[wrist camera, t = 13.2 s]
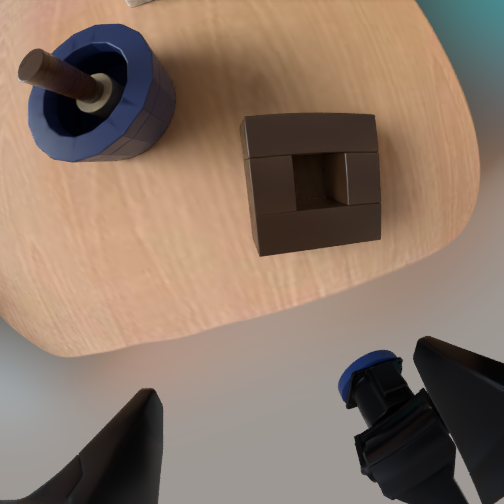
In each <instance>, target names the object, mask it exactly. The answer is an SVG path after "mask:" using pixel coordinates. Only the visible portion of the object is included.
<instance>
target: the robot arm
mask: <svg viewBox="0 0 504 504" xmlns="http://www.w3.org/2000/svg"><path fill="white" fill-rule="evenodd" d="M413 360H414V363H415V365H416V367H417V370H418V372H419V374H420V376H421V378H422V381H423V383H424V385H425V387H426V390H427V391H426V390H425V389H424V388H422V389H421V390H420V392H419V393H417V394H416V395H414V394H413V393H412V391H411V390H410V388H409V387H408V384H407V382H406V381H405V380H404V378H403V377H402V376H401V374H400V373H399V372H400V369H401V365H402V362H403V360H402V359H401V357H397V358H395V359H392V360H389V361H386V362H383V363H380V364H377V365H373V366H370V367H367V368H364V369H360V370H357V371H354V372H353V373H352V374H351V379H350V385H349V390H348V396H347V401H346V408H347V409H351V408H355V407H358V408H359V410H360V412H361V414H362V416H363V418H364V420H365V422H366V424H367V426H368V428H369V429H367V430H366V431H364V432H363V433H361V434H358V435H356V436H354V439H355V442H356V443H355V446H356V450H357V454H358V457H359V461H360V465H361V473H362V474H363V475H367V476H368V477H369V479H370V480H371V481H373V482H375V483H376V482H377V483H378V484H379V486H380V488H381V490H382V493H383V494H384V496H386V497H388V498H389V499H391V500H394V499H398V500H400V501H403V502H405V503H408V504H469V503H468V501H467V499H466V497H465V496H464V494H463V492H462V490H461V489H460V487H459V485H458V483H457V482H456V480H455V478H454V469H455V457H456V446H457V448H458V450H459V452H460V454H461V456H462V458H463V460H464V462H465V465H466V467H467V469H468V471H469V472H470V473H469V474H470V476H471V478H472V481H473V483H474V485H475V487H476V490H477V492H478V495H479V497H480V500H481V502H482V504H494V503H496V502H497V501H498V500H499V499H501V498H503V497H504V363H501V362H498V361H495V360H493V359H490V358H488V357H485V356H482V355H479V354H476V353H474V352H471V351H468V350H465V349H462V348H460V347H457V346H454V345H452V344H449V343H447V342H444V341H441V340H439V339H436V338H433V337H431V336H425V337H423V338H420V339H419V340H418V341H417V345H416V348H415V352H414V355H413ZM427 392H428V393H427ZM449 433H450V434H451V436H452V438H453V440H454V442H455V444H456V446H455V444H454V442H453V441H452V439H451V437H450V436H449ZM162 454H163V406H162V403H161V401H160V399H159V397H158V395H157V393H156V391H155V390H154V389H153V388H142V389H141V390H139V391H138V393H136V395H135V396H134V397H133V398H132V399H131V400H130V401H129V402H128V403H127V404H126V405H125V406H124V407H123V408H122V409H121V410H120V412H118V413H117V414H116V415H115V416H114V418H113V419H112V420H111V421H110V422H109V423H108V424H107V425H106V426H105V427H104V428H103V429H102V430H101V431H100V432H99V433H98V434H97V435H96V436H95V437H94V438H93V439H92V440H91V441H90V442H89V443H88V444H87V445H86V447H84V448H83V449H82V451H81V452H80V453H79V455H76V457H75V458H74V459H73V460H72V461H71V462H70V463H69V464H67V465H66V466H65V467H64V468H63V469H62V470H61V471H60V472H59V473H57V474H56V475H55V476H54V477H53V478H51V479H50V480H49V481H48V482H46V483H45V484H44V485H42V486H41V487H40V488H38V489H37V490H36V491H34V492H33V493H32V494H30V495H29V496H27V497H25V498H22V499H17V500H0V504H158V496H159V483H160V473H161V464H162Z"/></svg>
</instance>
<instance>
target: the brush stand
mask: <svg viewBox="0 0 504 504" xmlns="http://www.w3.org/2000/svg"><path fill="white" fill-rule="evenodd" d="M240 133H241V142H242V150H243V158H244V167H245V176H246V184H247V193H248V201H249V210H250V218H251V227H252V235H253V240H254V243H255V245H256V248H257V251H258V254H259V256H260V257H262V256H269V255H276V254H283V253H290V252H297V251H304V250H311V249H318V248H325V247H332V246H339V245H346V244H353V243H360V242H367V241H374V240H380V239H381V203H380V202H381V188H380V167H379V153H378V140H377V131H376V122H375V115H371V114H354V113H285V114H268V115H255V116H245V117H244V118H243V120H242V123H241V125H240ZM308 154H323V166H324V178H325V192H326V197H325V198H314V199H304V200H296V194H295V183H294V172H293V162H292V155H308Z"/></svg>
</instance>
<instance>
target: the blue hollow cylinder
mask: <svg viewBox="0 0 504 504" xmlns="http://www.w3.org/2000/svg"><path fill="white" fill-rule="evenodd" d="M52 55H54V56H55V57H57V58H59V59H61V60H63V61H65V62H67V63H68V64H70V65H72V66H74V67H76V68H77V69H79V70H81V71H83V72H85V73H86V74H88V75H90V76H91V75H93V74H97V73H103V74H106V75H108V76H109V77H111V78H112V79H113V80H115V81H116V82H118V83H119V84H121V85H122V86H123V87H125V90H124V93H123V96H122V99H121V101H120V102H119V104H118V105H117V106H116V108H115V109H114V111H113V112H112V113H111V115H110V116H109V118H108V119H105V118H101V117H98V116H95V115H92V114H89V113H85V112H83V111H81V110H80V109H79V107H78V105H77V102H76V99H73V98H70V97H67V96H65V95H62V94H59V93H56V92H53V91H50V90H47V89H43V88H40V87H37V86H34V85H33V88H32V91H31V94H30V97H29V101H28V125H29V128H30V131H31V133H32V136H33V138H34V141H35V143H36V145H37V146H38V147H39V148H40V149H41V150H42V151H44V152H45V153H46V154H47V155H48V156H49V157H51V158H53V159H55V160H61V161H67V162H95V161H118V160H124V159H129V158H132V157H135V156H137V155H139V154H141V153H143V152H145V151H146V150H148V149H149V148H150V147H152V146H153V145H154V144H155V143H156V142H157V141H158V140H159V139H160V138H161V137H162V135H163V134H164V133H165V131H166V130H167V128H168V126H169V124H170V122H171V119H172V117H173V113H174V109H175V102H176V100H175V89H174V86H173V82H172V80H171V79H170V77H169V75H168V74H167V72H166V71H165V69H164V67H163V66H162V64H161V63H160V61H159V60H158V58H157V57H156V55H155V54H154V52H153V51H152V49H151V48H150V46H149V45H148V43H147V42H146V40H145V39H144V37H143V36H142V35H141V34H140V33H139V32H137V31H135V30H133V29H131V28H129V27H127V26H125V25H122V24H101V25H94V26H92V27H89V28H87V29H85V30H82V31H80V32H78V33H76V34H74V35H73V36H71V37H70V38H69V39H67V40H66V41H65V42H64V43H63V44H61V45H60V46H59V47H58V48H57V49H56V50H55V51H53V53H52Z"/></svg>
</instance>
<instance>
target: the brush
mask: <svg viewBox="0 0 504 504" xmlns="http://www.w3.org/2000/svg"><path fill="white" fill-rule="evenodd" d="M18 78H19V80H20V81H21V82H24V83H27V84H30V85H34V86H37V87H40V88H43V89H47V90H50V91H53V92H56V93H59V94H62V95H65V96H67V97H70V98H73V99H76V102H77V105H78V107H79V109H80V110H81V111H83V112H85V113H89V114H92V115H95V116H98V117H101V118H105V119H108V118H109V116H110V115H111V113H112V112H113V111H114V109H115V108H116V106H117V105H118V104H119V102H120V101H121V99H122V96H123V93H124V90H125V87H123V86H122V85H121V84H119V83H118V82H116V81H115V80H113V79H112V78H111V77H109V76H108V75H106V74H103V73H97V74H93V75H91V76H90V75H88V74H86V73H85V72H83V71H81V70H79V69H77V68H76V67H74V66H72V65H70V64H68V63H67V62H65V61H63V60H61V59H59V58H57V57H55V56H54V55H52V54H50V53H48V52H46V51H44V50H42V49H34V50H32V51H31V52H29V53H28V54H27V55H26V56H25V58H24V59H23V60H22V62H21V64H20V66H19V69H18Z"/></svg>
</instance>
